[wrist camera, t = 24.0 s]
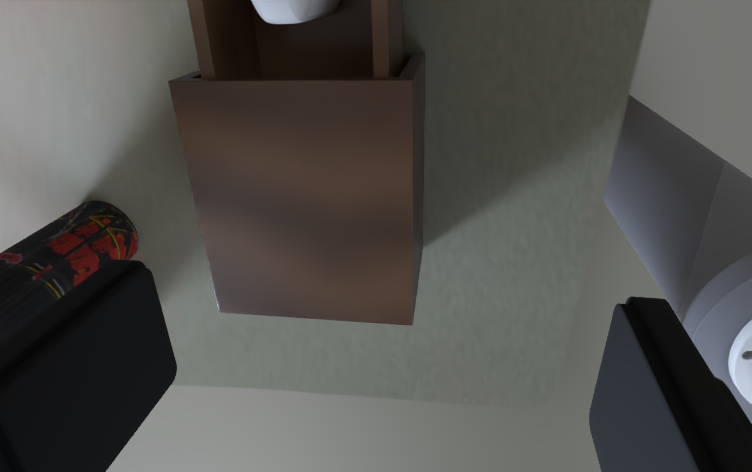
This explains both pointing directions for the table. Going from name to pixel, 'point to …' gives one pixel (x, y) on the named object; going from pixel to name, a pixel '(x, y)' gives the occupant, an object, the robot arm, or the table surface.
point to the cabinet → (309, 191)
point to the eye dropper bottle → (294, 10)
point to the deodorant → (60, 260)
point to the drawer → (298, 41)
